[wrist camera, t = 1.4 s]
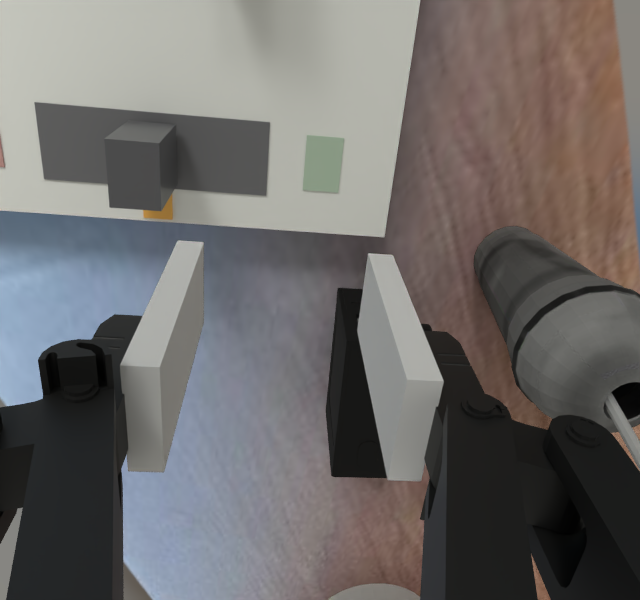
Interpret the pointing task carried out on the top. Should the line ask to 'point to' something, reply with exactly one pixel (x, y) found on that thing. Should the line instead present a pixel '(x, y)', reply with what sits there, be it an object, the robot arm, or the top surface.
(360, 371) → the digital camera
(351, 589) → the flag stand
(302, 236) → the top surface
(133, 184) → the block
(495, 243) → the beverage cup
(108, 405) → the robot arm
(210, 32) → the breaker panel
